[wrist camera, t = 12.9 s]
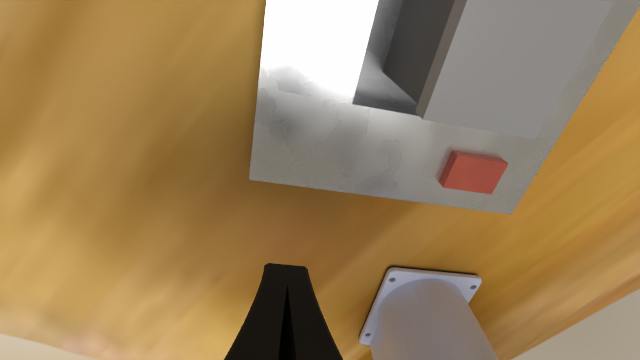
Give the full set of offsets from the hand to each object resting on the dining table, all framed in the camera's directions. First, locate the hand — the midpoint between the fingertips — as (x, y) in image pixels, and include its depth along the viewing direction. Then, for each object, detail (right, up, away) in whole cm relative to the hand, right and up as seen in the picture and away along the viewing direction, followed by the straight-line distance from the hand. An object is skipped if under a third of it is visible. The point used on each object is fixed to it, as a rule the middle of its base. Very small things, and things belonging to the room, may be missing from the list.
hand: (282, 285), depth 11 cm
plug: (+7, +11, +5) cm, 14 cm away
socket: (+6, +10, +6) cm, 13 cm away
